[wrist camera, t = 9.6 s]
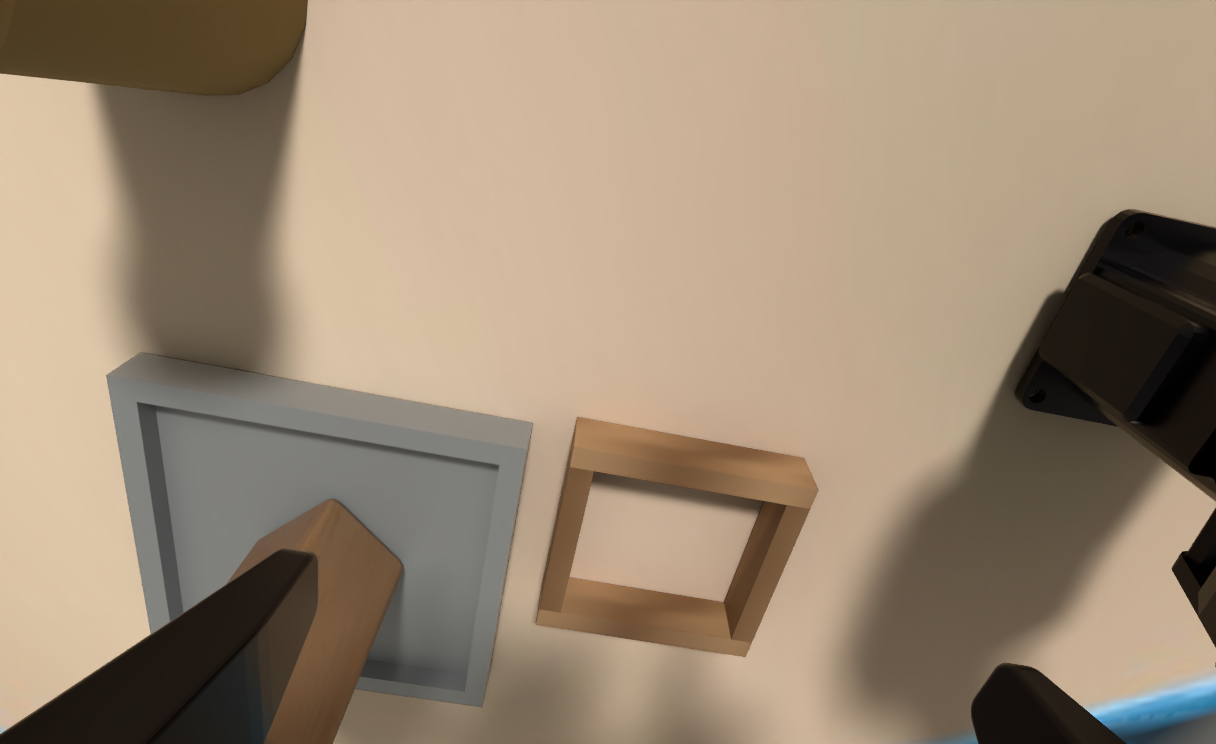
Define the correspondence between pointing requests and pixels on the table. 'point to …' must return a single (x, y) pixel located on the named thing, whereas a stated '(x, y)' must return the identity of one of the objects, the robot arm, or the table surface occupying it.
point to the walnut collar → (692, 467)
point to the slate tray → (312, 473)
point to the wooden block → (330, 617)
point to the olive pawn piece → (152, 42)
